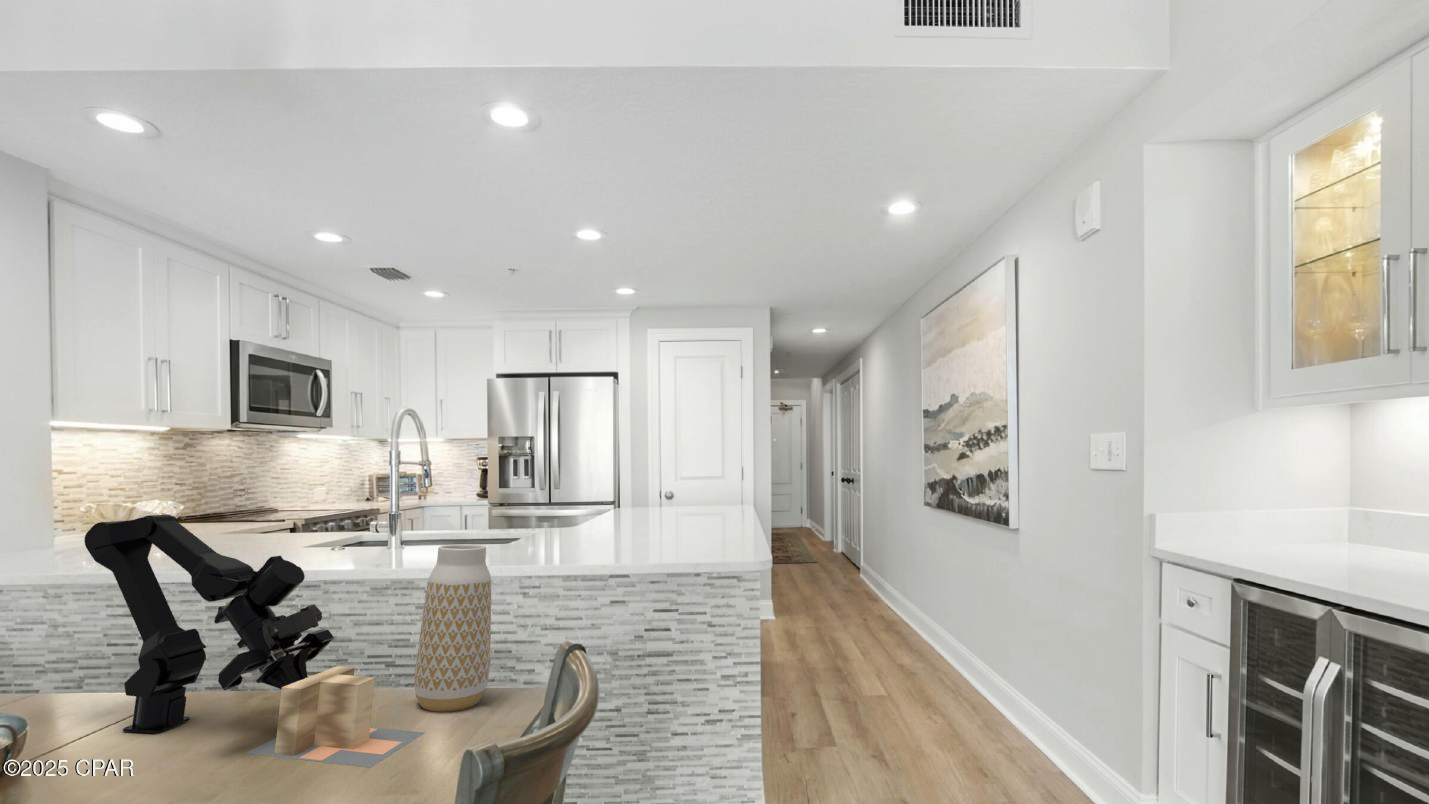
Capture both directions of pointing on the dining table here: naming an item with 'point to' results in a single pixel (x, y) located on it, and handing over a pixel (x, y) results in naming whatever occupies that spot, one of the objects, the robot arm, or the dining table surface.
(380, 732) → the slate mat
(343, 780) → the dining table surface
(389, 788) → the dining table surface
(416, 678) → the vase
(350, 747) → the maple T block
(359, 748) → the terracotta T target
